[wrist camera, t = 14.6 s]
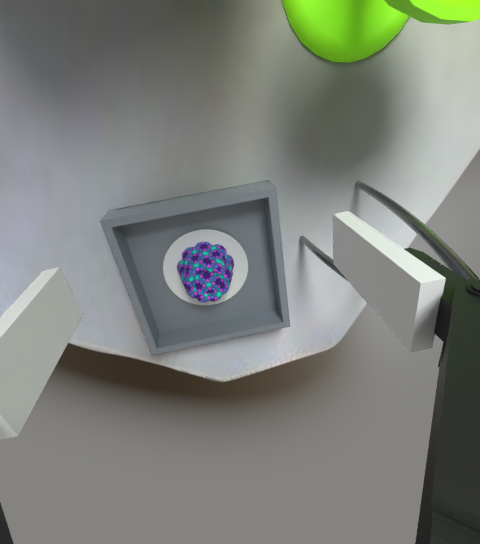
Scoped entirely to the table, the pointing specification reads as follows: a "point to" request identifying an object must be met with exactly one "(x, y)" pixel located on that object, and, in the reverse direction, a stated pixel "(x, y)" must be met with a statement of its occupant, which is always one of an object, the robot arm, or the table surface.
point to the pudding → (205, 267)
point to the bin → (184, 219)
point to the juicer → (420, 228)
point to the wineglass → (366, 22)
